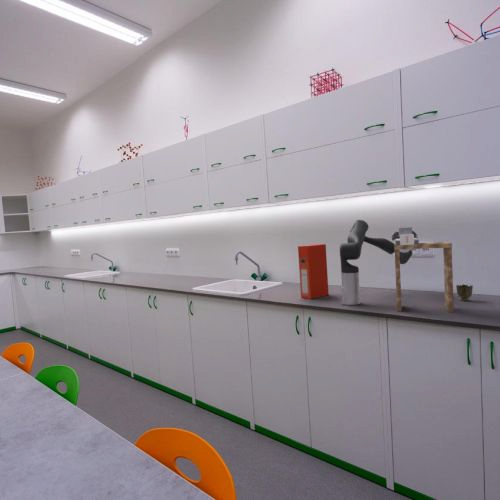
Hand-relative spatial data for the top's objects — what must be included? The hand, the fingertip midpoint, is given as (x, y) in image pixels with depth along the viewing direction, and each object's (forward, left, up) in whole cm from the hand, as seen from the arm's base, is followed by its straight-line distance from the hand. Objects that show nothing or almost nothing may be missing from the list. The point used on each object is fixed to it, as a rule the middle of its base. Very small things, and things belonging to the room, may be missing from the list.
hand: (404, 229), depth 192 cm
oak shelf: (+6, -20, -39) cm, 44 cm away
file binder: (-53, +9, -39) cm, 66 cm away
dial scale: (0, -20, -7) cm, 21 cm away
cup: (+27, +2, -39) cm, 48 cm away
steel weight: (0, -4, -3) cm, 5 cm away
